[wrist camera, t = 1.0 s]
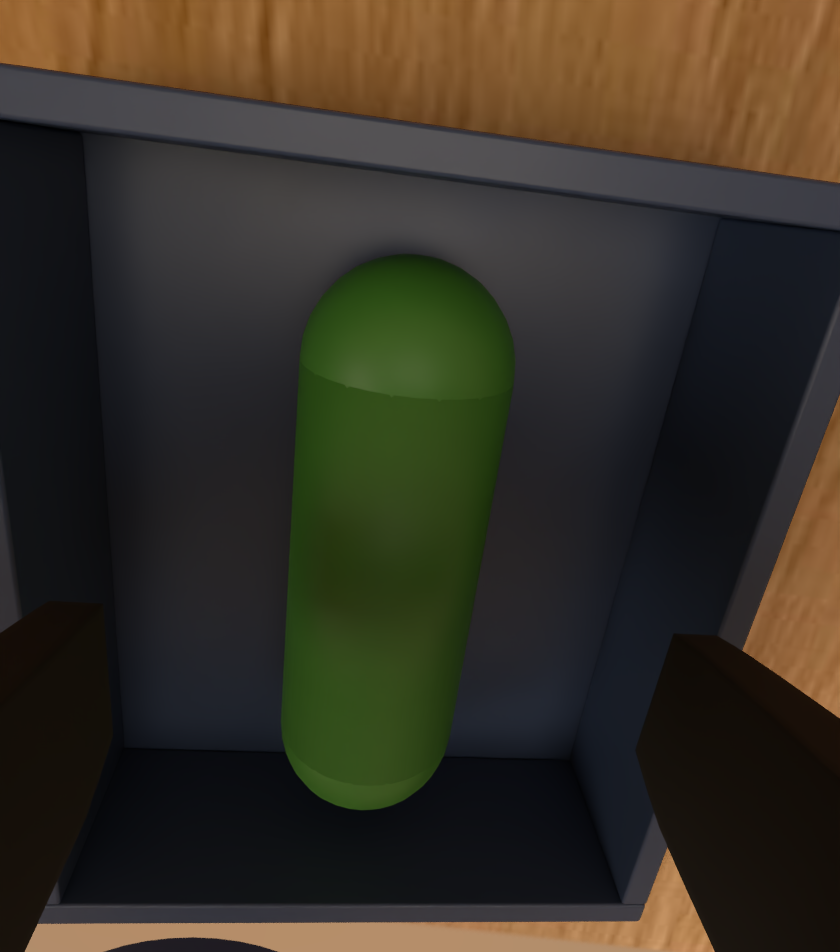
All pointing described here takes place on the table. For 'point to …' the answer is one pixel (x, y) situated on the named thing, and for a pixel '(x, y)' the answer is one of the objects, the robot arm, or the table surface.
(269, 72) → the table surface
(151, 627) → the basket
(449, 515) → the cucumber
